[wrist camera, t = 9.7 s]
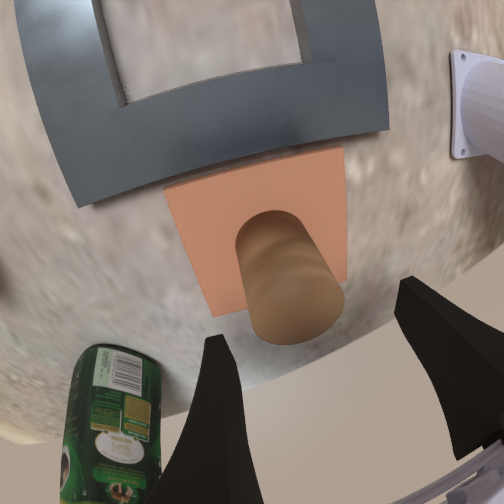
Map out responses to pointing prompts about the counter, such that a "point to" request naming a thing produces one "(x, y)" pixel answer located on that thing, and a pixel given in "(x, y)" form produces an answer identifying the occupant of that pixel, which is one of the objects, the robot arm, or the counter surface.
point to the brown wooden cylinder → (286, 279)
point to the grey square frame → (196, 96)
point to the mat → (252, 203)
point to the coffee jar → (111, 429)
